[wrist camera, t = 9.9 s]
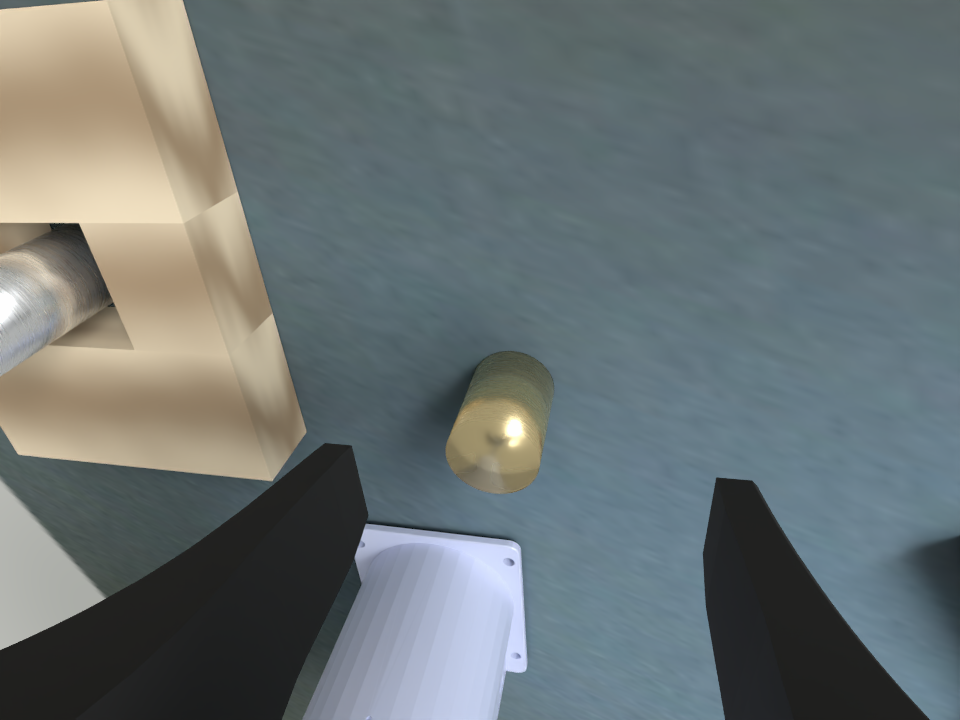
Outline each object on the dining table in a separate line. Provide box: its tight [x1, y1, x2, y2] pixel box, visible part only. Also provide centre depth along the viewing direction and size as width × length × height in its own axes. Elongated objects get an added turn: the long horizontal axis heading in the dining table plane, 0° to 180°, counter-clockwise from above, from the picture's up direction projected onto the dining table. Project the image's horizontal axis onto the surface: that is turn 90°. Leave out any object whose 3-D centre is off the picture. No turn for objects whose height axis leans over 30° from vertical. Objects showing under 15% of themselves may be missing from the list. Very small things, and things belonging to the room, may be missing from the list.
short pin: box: [446, 351, 554, 494], centre depth 21 cm, size 3×3×4 cm
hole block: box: [0, 0, 307, 481], centre depth 22 cm, size 16×12×3 cm
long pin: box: [0, 223, 113, 376], centre depth 20 cm, size 3×3×7 cm
